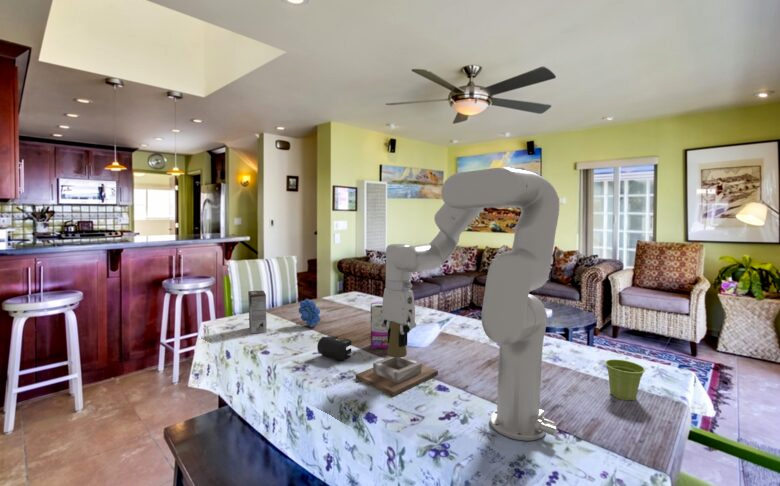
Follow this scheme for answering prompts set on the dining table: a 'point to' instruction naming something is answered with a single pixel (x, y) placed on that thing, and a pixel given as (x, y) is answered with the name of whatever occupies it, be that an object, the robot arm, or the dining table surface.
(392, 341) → the cork
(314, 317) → the blue scalloped wheel
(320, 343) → the end cap
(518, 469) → the dining table surface
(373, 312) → the candy bar box
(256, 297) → the coffee box
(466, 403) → the dining table surface
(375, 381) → the socket board
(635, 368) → the plant pot
